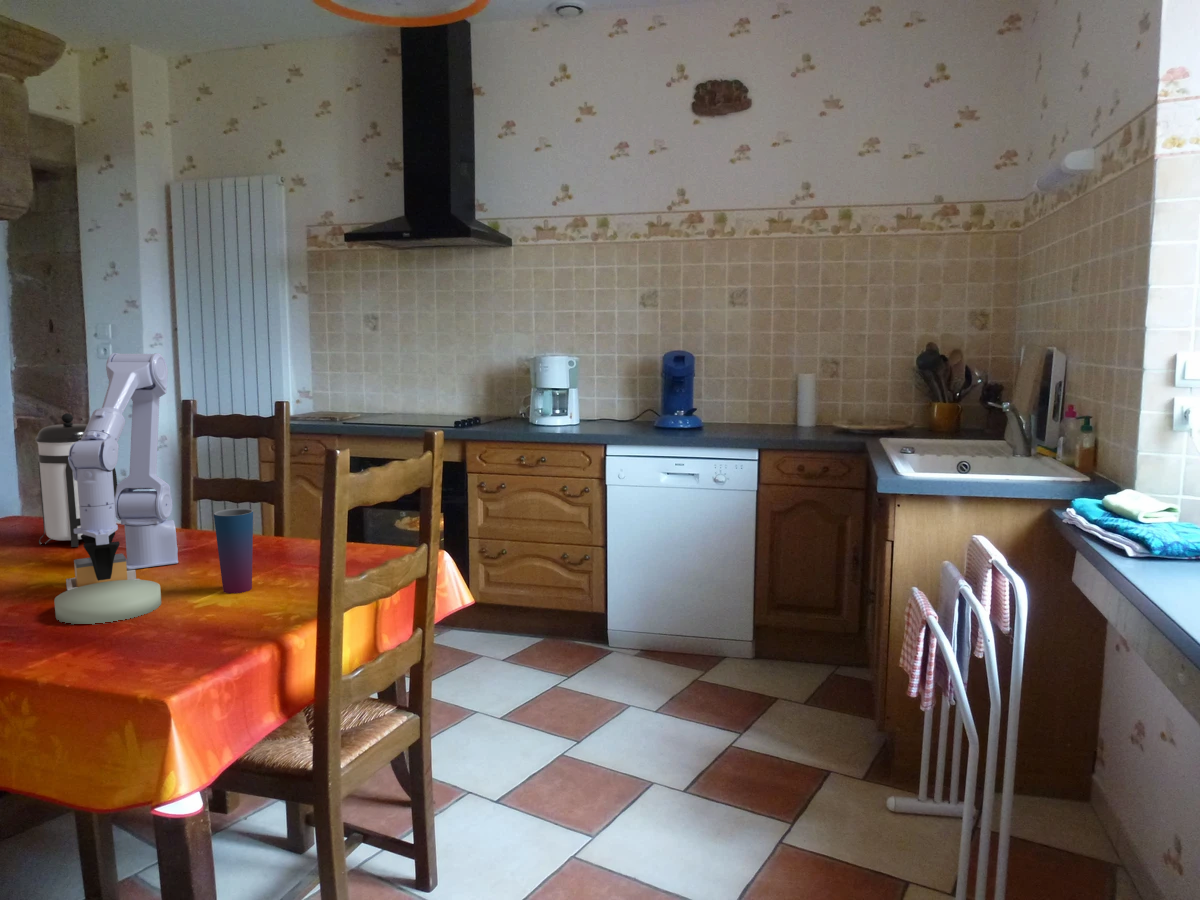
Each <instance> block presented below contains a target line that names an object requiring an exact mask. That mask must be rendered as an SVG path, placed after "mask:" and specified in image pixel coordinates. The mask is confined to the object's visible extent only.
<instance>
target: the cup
mask: <svg viewBox="0 0 1200 900" xmlns="http://www.w3.org/2000/svg"><path fill="white" fill-rule="evenodd" d="M213 521H214V526H215V527H214V528H215V536H216V542H217V551H218V560H219V568H220V575H221V577H220V578H221V584H222V591H223V593H226V594H231V593H234V594H243V593H246V591H247V592H249V591H251V590H252V589H253V550H254V549H253V546H254V545H253V537H254V535H253V533H254V510H253V509H251V508H250V509H249V508H243V507H242V508H237V507H236V508H228V509H221V510H218V511H215V512H214V513H213ZM242 592H243V593H242Z"/></svg>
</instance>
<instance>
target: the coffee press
mask: <svg viewBox="0 0 1200 900" xmlns="http://www.w3.org/2000/svg"><path fill="white" fill-rule="evenodd" d="M60 419H61V420H62V422H63V424H52V425H48V426H45V427H43V428H41V429H40V430H39V432H38V433H37V436H35V438H34V439H35V442H36V443H37V447H38V453H37V461H38V463H37V464H38V474H39V475H38V476H39V486H40V487H39V488H40V497H41V511H42V522H43V534H42V536H40V538H39V540H38V543H39V545H41V544H42V543H43V542H41V539H42V538H43V537H44V536H45V535H46V536H47V537H48V538H49V539H48V540H46V541H45V542H44V543H45V545H47V544H48V543H49V542H50V541H51V540H53V541H54V540H55V541H70V547H78V546H79V544H80V543H79V542H80V540H83V539H82V538H81V535H83V534H81V533H79V534H74V529H75V528H81V522H80V510H79V498H78V485H77V481H76V480H74V478H73V471H72V469H71V467H70V465H69V461H68V457H69V450H70V447H71V446H72V444H74V443H76V442H78V441H79V440H81V438H82V436H83V434H84V432H85V429H86V427H87V425H88V423H87V424H86V423H73V421H74V420H73V419H74V416H73V415H72V414H71V413H69V412H68V413H64V414H63V415H62V416H61V418H60ZM112 473H113V486H114V497H115V494H116V488H117V485H118V478H117V472H116V467H115V468H114V469H113V470H112ZM41 546H42V545H41ZM79 547H80V546H79ZM79 547H78V548H79Z"/></svg>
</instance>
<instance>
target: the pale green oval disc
mask: <svg viewBox="0 0 1200 900" xmlns="http://www.w3.org/2000/svg"><path fill="white" fill-rule="evenodd" d="M136 571H137V570H136V569H130V570H127V580H116V581H107V582H100V583H94V584H89V585H85V586H81V587H76V579H75V577H72V578H71V577H70V578H65V582H66V583H65V585H66V590H65V591H63V592H62V593H60V594H58V595H57V596H55V598H54V610H55V611H54V614H55V618H56V619H55V620H57V621H58V620H59V621H58V622H60V623H62V622H65V623H64V624H66V623H71V624H70V625H74V624H92V625H96V624H95V623H103V624H106V623H105V622H111V623H114V622H113V621H117V622H119V621H118V620H123V621H126V620H125V619H127V620H130V618H131V619H135V618H138V616H139V617H141V615H142V616H144V614H145V615H146V614H147V615H148V614H149V613H151V612H154V611H155V610H157V609H159V606H161V605H162V593H161V585H160V584H159V583H158V582H156V581H152V580H146V579H140V578H137V573H136ZM153 610H154V611H153ZM134 617H135V618H134Z"/></svg>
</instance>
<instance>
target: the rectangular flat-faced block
mask: <svg viewBox="0 0 1200 900" xmlns="http://www.w3.org/2000/svg"><path fill="white" fill-rule="evenodd" d="M126 559H127V557H126V556H125V555H124V553H115V557H114V561H113V569H112V575H111V579H106V580H99V581H98V580H97V577H96V574H95V571H94V567H93V563H92V560H91V558H90V557H84V558H76V559H73V563H74V564H73V567H74V575H75V577H74V578H75V579H76V587H81V586H85V585H89V584H94V583H100V582H107V581H116V580H127V571H128V569H127V566H126Z"/></svg>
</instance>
